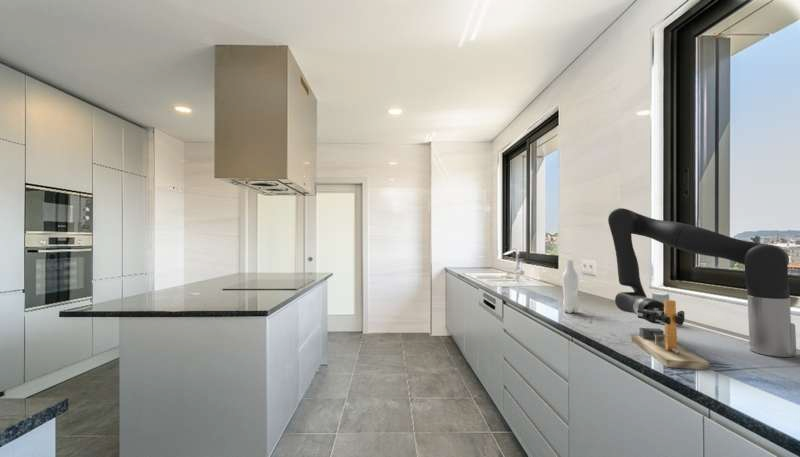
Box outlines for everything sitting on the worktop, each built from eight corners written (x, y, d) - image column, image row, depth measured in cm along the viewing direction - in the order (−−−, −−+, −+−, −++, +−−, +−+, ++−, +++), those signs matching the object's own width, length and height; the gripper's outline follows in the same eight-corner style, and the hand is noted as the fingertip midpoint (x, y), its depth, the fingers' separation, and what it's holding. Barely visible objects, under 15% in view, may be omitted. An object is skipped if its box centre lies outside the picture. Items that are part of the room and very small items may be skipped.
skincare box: (665, 324, 148) (664, 294, 149) (652, 322, 152) (651, 293, 152) (671, 322, 152) (670, 293, 152) (659, 320, 155) (658, 292, 156)
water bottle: (559, 311, 177) (558, 260, 178) (571, 310, 180) (570, 259, 180) (570, 314, 171) (569, 261, 171) (582, 313, 173) (581, 260, 173)
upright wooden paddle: (670, 344, 114) (668, 297, 114) (686, 354, 104) (684, 303, 105) (655, 344, 115) (653, 297, 115) (669, 353, 105) (668, 302, 106)
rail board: (664, 342, 124) (664, 336, 124) (709, 369, 98) (708, 362, 99) (631, 340, 126) (631, 335, 126) (667, 367, 101) (666, 359, 101)
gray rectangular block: (659, 337, 123) (659, 328, 123) (667, 342, 117) (667, 332, 118) (639, 336, 124) (639, 327, 124) (646, 341, 119) (646, 331, 119)
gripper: (626, 298, 125) (647, 307, 108) (673, 299, 121) (702, 309, 104) (627, 320, 124) (648, 332, 108) (673, 321, 121) (703, 335, 104)
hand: (675, 321), depth 106 cm, fingers closed on upright wooden paddle, 2 cm apart
